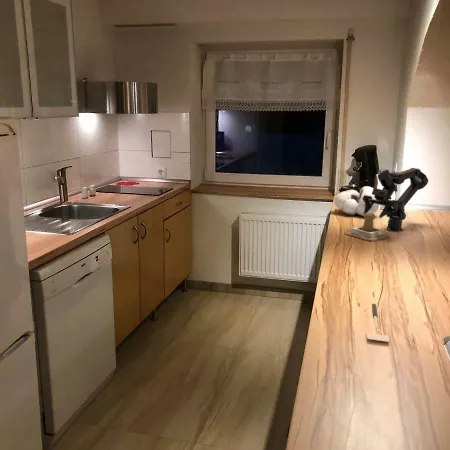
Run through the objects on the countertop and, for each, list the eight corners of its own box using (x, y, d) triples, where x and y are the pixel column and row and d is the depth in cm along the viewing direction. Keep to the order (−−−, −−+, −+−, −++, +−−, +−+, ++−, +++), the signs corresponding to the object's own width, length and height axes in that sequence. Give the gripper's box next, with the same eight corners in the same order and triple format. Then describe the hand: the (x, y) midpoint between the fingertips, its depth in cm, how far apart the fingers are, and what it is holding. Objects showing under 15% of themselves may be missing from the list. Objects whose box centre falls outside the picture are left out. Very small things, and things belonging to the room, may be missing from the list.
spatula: (366, 343, 144) (367, 338, 144) (364, 304, 172) (364, 300, 172) (389, 346, 143) (389, 341, 142) (383, 306, 171) (383, 302, 170)
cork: (363, 231, 262) (365, 211, 259) (374, 233, 259) (377, 213, 256) (359, 234, 257) (362, 213, 254) (371, 236, 254) (374, 215, 251)
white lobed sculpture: (341, 196, 321) (350, 170, 305) (377, 215, 313) (388, 189, 297) (326, 214, 309) (335, 188, 293) (363, 234, 301) (375, 208, 285)
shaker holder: (363, 230, 269) (364, 224, 268) (389, 237, 257) (390, 230, 256) (344, 234, 259) (345, 228, 258) (370, 241, 247) (371, 235, 246)
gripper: (366, 179, 263) (351, 202, 259) (397, 185, 249) (382, 209, 245) (373, 193, 270) (359, 215, 266) (404, 199, 256) (389, 223, 252)
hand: (371, 215), depth 257 cm, fingers open, 9 cm apart
